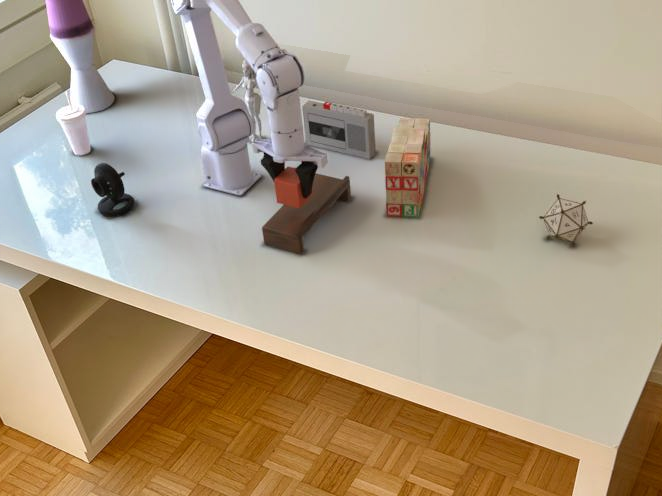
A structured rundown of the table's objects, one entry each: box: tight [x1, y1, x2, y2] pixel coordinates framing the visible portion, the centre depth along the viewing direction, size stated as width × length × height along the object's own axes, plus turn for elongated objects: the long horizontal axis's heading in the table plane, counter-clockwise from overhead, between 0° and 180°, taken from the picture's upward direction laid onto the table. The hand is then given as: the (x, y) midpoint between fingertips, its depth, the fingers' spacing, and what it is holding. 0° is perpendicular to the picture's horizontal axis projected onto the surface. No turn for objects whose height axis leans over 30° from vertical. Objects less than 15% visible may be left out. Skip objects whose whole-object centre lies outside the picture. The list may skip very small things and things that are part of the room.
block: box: [273, 166, 313, 209], centre depth 161 cm, size 5×5×5 cm
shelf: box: [261, 172, 352, 255], centre depth 168 cm, size 8×20×5 cm, turn 151°
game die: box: [538, 193, 594, 247], centre depth 156 cm, size 9×8×10 cm
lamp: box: [45, 0, 115, 114], centre depth 199 cm, size 11×11×40 cm
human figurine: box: [231, 59, 264, 143], centre depth 187 cm, size 12×4×18 cm, turn 60°
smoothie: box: [55, 90, 92, 156], centre depth 191 cm, size 6×6×14 cm
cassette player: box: [301, 100, 377, 160], centre depth 184 cm, size 16×3×10 cm, turn 59°
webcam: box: [90, 162, 135, 218], centre depth 175 cm, size 8×8×10 cm
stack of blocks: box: [384, 117, 431, 218], centre depth 171 cm, size 21×6×12 cm, turn 168°
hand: (294, 192), depth 162 cm, fingers closed on block, 5 cm apart
